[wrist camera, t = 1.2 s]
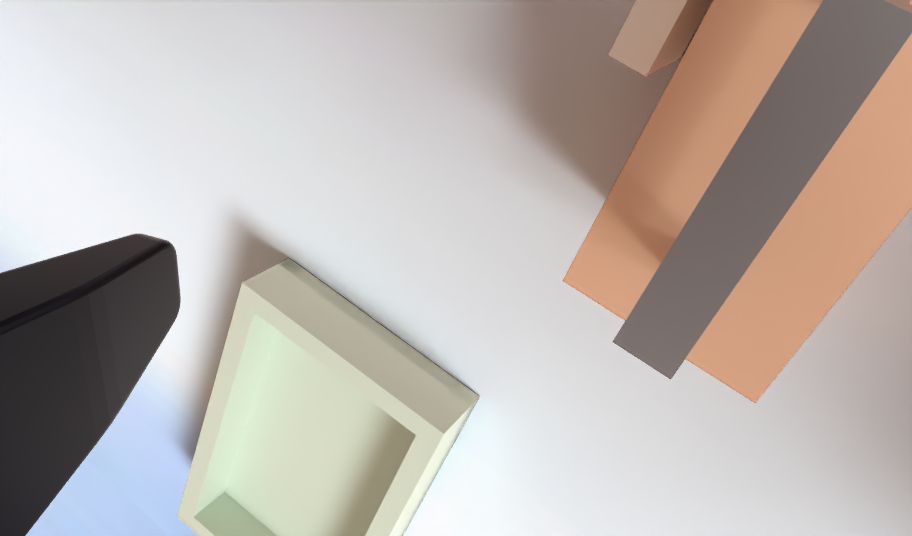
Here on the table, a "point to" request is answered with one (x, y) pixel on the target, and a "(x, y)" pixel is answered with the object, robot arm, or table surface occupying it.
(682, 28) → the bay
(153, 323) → the robot arm
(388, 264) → the table surface
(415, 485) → the tray
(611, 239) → the tall peach cuboid
